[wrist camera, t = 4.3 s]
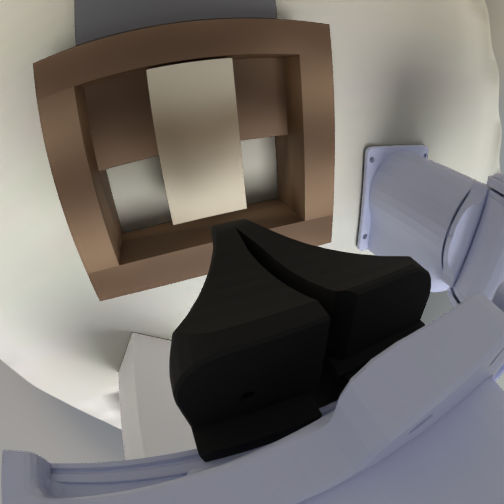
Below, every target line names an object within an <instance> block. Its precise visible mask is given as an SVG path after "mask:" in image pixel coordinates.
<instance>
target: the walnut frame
mask: <svg viewBox="0 0 504 504" xmlns="http://www.w3.org/2000/svg"><path fill="white" fill-rule="evenodd" d="M223 58H232V62H233V72H234V83H235V93H236V103H237V114H238V124H239V134H240V140H248V139H255V138H263V137H271V136H275V142H276V159H277V178H278V199H272V200H267V201H262V202H257V203H252V204H248V205H246V206H247V208H246V209H242V210H237V211H233V212H228V213H224V214H219V215H215V216H210V217H206V218H202V219H197V220H193V221H189V222H185V223H180V224H176V225H173V222H168V223H163V224H159V225H155V226H151V227H147V228H143V229H140V230H136V231H132V232H128V233H124V234H123V231H122V228H121V225H120V221H119V218H118V214H117V211H116V207H115V204H114V200H113V196H112V192H111V189H110V185H109V181H108V177H107V173H106V169H109V168H112V167H116V166H119V165H123V164H127V163H131V162H135V161H139V160H143V159H147V158H151V157H155V156H159V152H158V147H157V141H156V135H155V129H154V123H153V116H152V110H151V103H150V96H149V88H148V80H147V72H146V70H147V69H152V68H157V67H163V66H168V65H174V64H180V63H187V62H195V61H203V60H212V59H223ZM33 70H34V80H35V89H36V97H37V104H38V110H39V116H40V122H41V127H42V132H43V137H44V142H45V147H46V151H47V155H48V159H49V163H50V167H51V171H52V175H53V179H54V182H55V186H56V189H57V192H58V196H59V199H60V202H61V205H62V208H63V211H64V214H65V217H66V220H67V223H68V226H69V229H70V232H71V234H72V237H73V240H74V242H75V245H76V247H77V250H78V253H79V255H80V257H81V260H82V262H83V265H84V267H85V269H86V272H87V274H88V276H89V279H90V281H91V283H92V285H93V287H94V290H95V292H96V294H97V296H98V298H99V300H100V301H103V300H107V299H111V298H115V297H119V296H123V295H127V294H131V293H135V292H139V291H144V290H148V289H152V288H156V287H160V286H164V285H168V284H172V283H176V282H180V281H184V280H187V279H191V278H195V277H199V276H203V275H207V274H208V271H209V268H210V264H211V258H212V253H213V242H212V236H211V231H210V229H211V227H212V226H214V225H218V224H222V223H227V222H231V221H236V220H240V219H247V220H249V221H252V222H254V223H256V224H258V225H261V226H263V227H265V228H267V229H269V230H272V231H274V232H276V233H279V234H281V235H284V236H286V237H289V238H292V239H295V240H297V241H300V242H303V243H307V244H310V245H314V246H318V245H322V244H326V243H330V242H331V237H332V220H333V200H334V166H335V118H334V85H333V66H332V51H331V39H330V28H329V24H322V23H315V22H306V21H296V20H282V19H258V18H238V19H213V20H200V21H190V22H181V23H173V24H167V25H160V26H154V27H149V28H143V29H139V30H134V31H129V32H125V33H121V34H117V35H113V36H109V37H105V38H102V39H98V40H95V41H92V42H88V43H85V44H82V45H79V46H76V47H73V48H70V49H68V50H65V51H62V52H60V53H57V54H54V55H52V56H49V57H47V58H45V59H42V60H40V61H38V62H35V63H33Z"/></svg>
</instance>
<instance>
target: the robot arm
mask: <svg viewBox="0 0 504 504" xmlns="http://www.w3.org/2000/svg"><path fill="white" fill-rule="evenodd" d="M370 158H371V161H370ZM210 231H211V236H212V242H213V253H212V258H211V264H210V268H209V271H208V275H207V278H206V280H205V283H204V285H203V288H202V290H201V292H200V294H199V296H198V298H197V300H196V302H195V303H194V305H193V307H192V308H191V310H190V312H189V313H188V315H187V316H186V317H185V319H184V320H183V321H182V323H181V324H180V325H179V326H178V328H177V329H176V330H175V331H174V332H173V335H172V341H171V348H170V358H169V375H170V383H171V388H172V393H173V397H174V400H175V403H176V405H177V406H178V408H179V409H180V411H181V413H182V414H183V416H184V417H185V419H186V420H187V422H188V423H189V425H190V426H191V429H192V432H193V436H194V440H195V443H196V447H197V448H196V449H192V450H187V451H182V452H177V453H172V454H166V455H160V456H154V457H147V458H140V459H132V460H123V461H112V462H98V463H49V462H48V461H47V460H46V459H44V458H43V457H41V456H39V455H37V454H35V453H32V452H28V451H17V450H3V454H2V504H504V391H503V390H502V389H501V388H500V387H499V385H498V384H497V383H496V380H497V379H498V378H499V377H500V376H501V375H502V373H503V372H504V175H503V174H501V173H495V174H494V175H493V176H489V177H488V181H487V184H484V183H481V182H479V181H477V180H475V179H472V178H470V177H468V176H466V175H464V174H462V173H459V172H457V171H455V170H453V169H450V168H448V167H446V166H443V165H441V164H439V163H436V162H434V161H431V160H429V159H428V147H427V146H425V145H393V146H372V147H368V148H367V149H366V151H365V164H364V181H363V195H362V207H361V217H360V227H359V236H358V244H357V247H358V249H359V250H361V251H363V250H366V249H369V250H370V251H371V252H372V253H373V254H375V255H376V256H374V255H362V254H354V253H347V252H341V251H335V250H330V249H325V248H321V247H318V246H314V245H310V244H307V243H303V242H300V241H297V240H295V239H292V238H289V237H286V236H284V235H281V234H279V233H276V232H274V231H272V230H269V229H267V228H265V227H263V226H261V225H258V224H256V223H254V222H252V221H249V220H247V219H240V220H236V221H231V222H227V223H222V224H218V225H214V226H212V227H211V229H210ZM364 234H365V235H364ZM363 235H364V236H363ZM445 290H448V299H449V301H450V304H451V306H452V309H451V310H449V311H448V312H446V313H445V314H443V315H442V316H440V317H438V318H437V319H435V320H433V321H432V322H430V323H429V324H427V325H425V324H424V323H423V322H422V321H421V320H420V319H421V316H422V314H423V311H424V308H425V306H426V303H427V300H428V298H429V294H430V292H441V291H445Z"/></svg>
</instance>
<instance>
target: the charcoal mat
mask: <svg viewBox="0 0 504 504" xmlns="http://www.w3.org/2000/svg"><path fill="white" fill-rule="evenodd" d="M238 18H258V19H277V12H276V2H275V0H75V38H76V46H79V45H82V44H85V43H88V42H92V41H95V40H98V39H102V38H105V37H109V36H113V35H117V34H121V33H125V32H129V31H134V30H139V29H143V28H149V27H154V26H160V25H167V24H173V23H181V22H190V21H200V20H213V19H238Z"/></svg>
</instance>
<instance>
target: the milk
mask: <svg viewBox="0 0 504 504" xmlns="http://www.w3.org/2000/svg"><path fill="white" fill-rule="evenodd" d="M170 348H171V340H165V339H161V338H156V337H151V336H146V335H142V334H138V333H132V335H131V338H130V341H129V343H128V346H127V349H126V352H125V355H124V358H123V361H122V364H121V367H120V370H119V397H120V412H121V424H122V435H123V443H124V451H125V459H126V460H132V459H140V458H147V457H154V456H160V455H166V454H172V453H177V452H182V451H187V450H192V449H196V448H197V447H196V443H195V440H194V436H193V432H192V429H191V426H190V425H189V423H188V422H187V420H186V419H185V417H184V416H183V414H182V413H181V411H180V409H179V408H178V406H177V405H176V403H175V400H174V397H173V393H172V388H171V383H170V375H169V358H170Z"/></svg>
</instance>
